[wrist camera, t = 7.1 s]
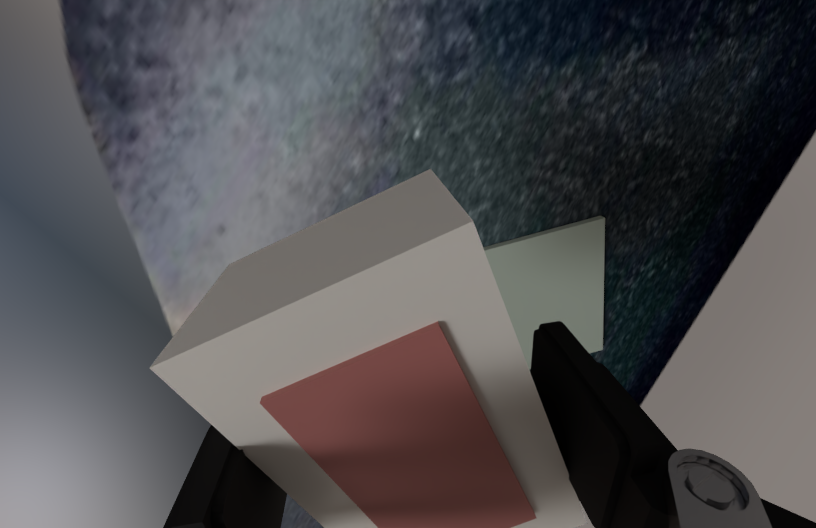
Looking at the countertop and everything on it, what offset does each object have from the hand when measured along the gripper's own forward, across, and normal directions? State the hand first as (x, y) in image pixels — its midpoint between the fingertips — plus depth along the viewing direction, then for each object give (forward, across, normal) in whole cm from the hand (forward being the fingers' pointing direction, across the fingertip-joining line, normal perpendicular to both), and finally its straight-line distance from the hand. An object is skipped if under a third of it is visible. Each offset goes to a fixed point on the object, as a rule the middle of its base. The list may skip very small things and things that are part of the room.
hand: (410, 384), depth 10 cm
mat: (+18, -12, +11) cm, 24 cm away
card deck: (+2, 0, 0) cm, 2 cm away
